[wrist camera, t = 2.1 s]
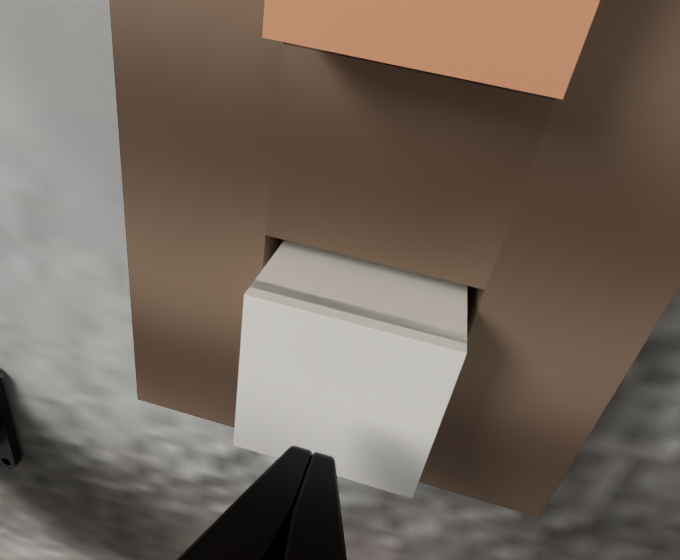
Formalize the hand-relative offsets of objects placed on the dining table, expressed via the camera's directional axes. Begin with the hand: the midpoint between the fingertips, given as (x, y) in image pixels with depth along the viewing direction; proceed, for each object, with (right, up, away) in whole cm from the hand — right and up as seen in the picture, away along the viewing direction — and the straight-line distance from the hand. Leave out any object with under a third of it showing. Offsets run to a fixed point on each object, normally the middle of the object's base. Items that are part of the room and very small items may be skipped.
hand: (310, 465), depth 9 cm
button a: (+1, +3, +4) cm, 5 cm away
